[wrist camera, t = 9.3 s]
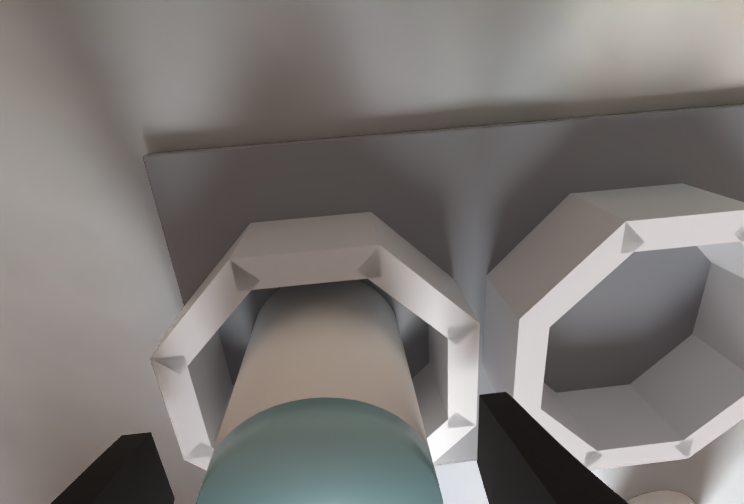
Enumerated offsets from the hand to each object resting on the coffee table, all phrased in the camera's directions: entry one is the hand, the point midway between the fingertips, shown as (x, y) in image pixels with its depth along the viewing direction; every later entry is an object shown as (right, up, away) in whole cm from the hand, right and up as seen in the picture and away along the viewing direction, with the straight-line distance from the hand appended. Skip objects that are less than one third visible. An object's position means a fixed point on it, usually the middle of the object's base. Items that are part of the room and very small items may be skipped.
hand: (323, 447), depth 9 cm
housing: (+4, +2, +4) cm, 6 cm away
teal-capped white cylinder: (0, +2, +4) cm, 4 cm away
